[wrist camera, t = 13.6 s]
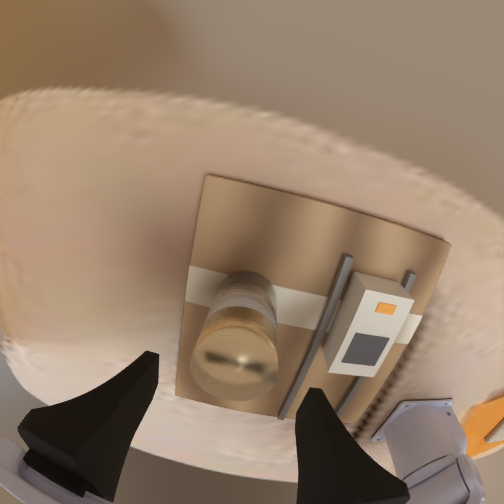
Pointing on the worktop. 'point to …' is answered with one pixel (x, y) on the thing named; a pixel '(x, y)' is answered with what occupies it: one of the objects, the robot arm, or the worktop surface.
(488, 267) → the worktop surface
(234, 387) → the marbled round peg
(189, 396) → the board
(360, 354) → the block
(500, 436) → the washcloth
